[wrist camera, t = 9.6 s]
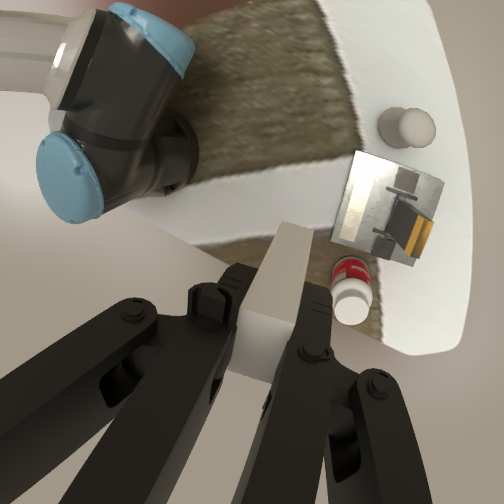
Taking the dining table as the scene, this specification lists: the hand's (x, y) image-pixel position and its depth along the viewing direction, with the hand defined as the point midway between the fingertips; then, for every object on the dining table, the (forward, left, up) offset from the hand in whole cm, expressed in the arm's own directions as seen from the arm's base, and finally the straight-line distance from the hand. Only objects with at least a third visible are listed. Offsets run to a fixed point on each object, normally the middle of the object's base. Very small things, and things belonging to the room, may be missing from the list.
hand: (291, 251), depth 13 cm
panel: (+11, -3, -30) cm, 32 cm away
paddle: (+12, -3, -27) cm, 30 cm away
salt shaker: (+9, +9, -31) cm, 33 cm away
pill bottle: (+9, -15, -31) cm, 35 cm away
